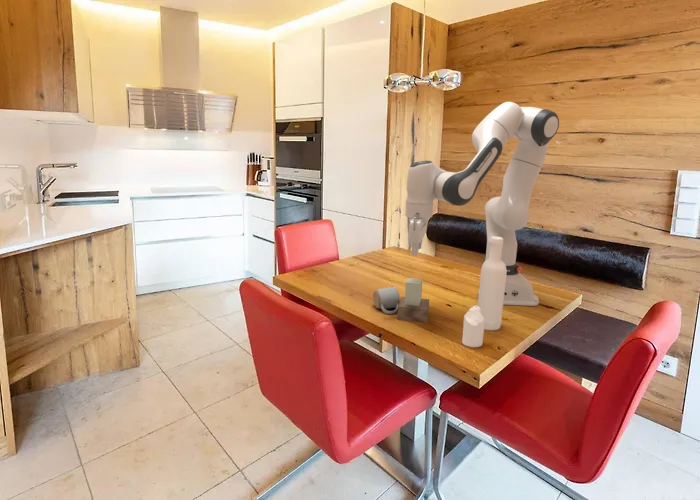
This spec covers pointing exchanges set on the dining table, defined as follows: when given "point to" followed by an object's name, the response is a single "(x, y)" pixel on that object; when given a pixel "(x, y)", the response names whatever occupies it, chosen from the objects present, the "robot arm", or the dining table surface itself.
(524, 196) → the robot arm
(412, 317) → the walnut block
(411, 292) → the sage block
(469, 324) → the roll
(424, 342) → the dining table surface
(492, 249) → the bottle
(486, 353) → the dining table surface
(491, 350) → the dining table surface
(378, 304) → the ceramic mug
